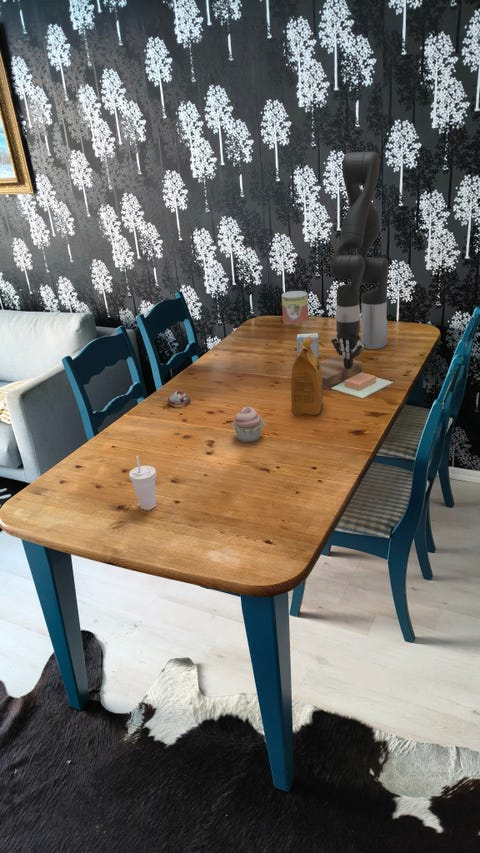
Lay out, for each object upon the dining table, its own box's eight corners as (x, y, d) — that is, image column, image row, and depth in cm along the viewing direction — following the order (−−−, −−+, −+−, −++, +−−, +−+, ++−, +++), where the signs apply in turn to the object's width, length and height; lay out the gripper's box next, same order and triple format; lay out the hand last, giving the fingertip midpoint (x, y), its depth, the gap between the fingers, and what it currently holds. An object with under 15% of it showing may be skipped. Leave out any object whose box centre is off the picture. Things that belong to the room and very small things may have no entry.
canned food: (281, 325, 272) (280, 298, 267) (284, 317, 282) (282, 291, 277) (307, 324, 270) (306, 297, 265) (309, 316, 280) (308, 290, 275)
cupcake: (242, 449, 173) (239, 416, 168) (227, 436, 180) (224, 405, 176) (271, 439, 176) (269, 407, 172) (255, 427, 184) (253, 397, 180)
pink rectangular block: (376, 376, 205) (376, 382, 206) (361, 372, 209) (361, 378, 210) (359, 384, 200) (359, 391, 201) (344, 380, 204) (344, 386, 205)
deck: (335, 365, 223) (335, 355, 222) (362, 373, 215) (362, 362, 213) (301, 381, 213) (300, 370, 211) (327, 389, 205) (327, 378, 203)
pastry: (186, 409, 201) (184, 394, 199) (164, 408, 203) (162, 394, 200) (193, 398, 208) (192, 385, 205) (172, 398, 210) (170, 384, 207)
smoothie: (136, 500, 153) (126, 451, 147) (162, 497, 154) (153, 448, 147) (134, 515, 148) (124, 464, 141) (161, 512, 148) (152, 461, 142)
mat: (361, 374, 214) (361, 373, 214) (392, 383, 205) (392, 381, 205) (330, 389, 205) (330, 387, 205) (362, 398, 196) (362, 397, 196)
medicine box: (318, 354, 235) (318, 332, 231) (318, 358, 231) (318, 336, 227) (297, 355, 236) (296, 333, 232) (297, 359, 232) (296, 337, 228)
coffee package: (327, 401, 196) (326, 334, 187) (320, 418, 186) (318, 349, 176) (297, 399, 199) (294, 334, 190) (287, 416, 189) (284, 348, 179)
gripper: (372, 318, 197) (371, 369, 205) (339, 311, 206) (340, 360, 214) (357, 324, 193) (357, 376, 200) (324, 317, 202) (325, 367, 209)
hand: (348, 368), depth 207 cm, fingers closed
